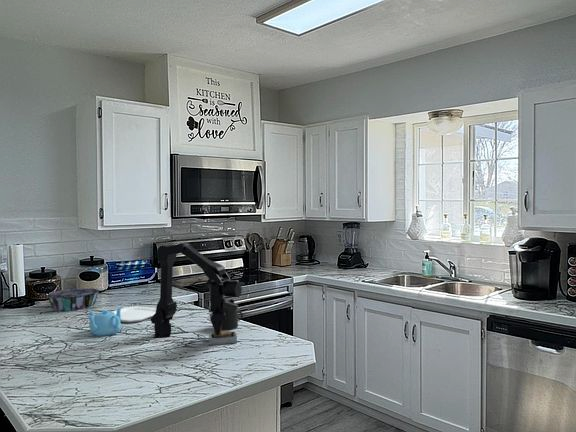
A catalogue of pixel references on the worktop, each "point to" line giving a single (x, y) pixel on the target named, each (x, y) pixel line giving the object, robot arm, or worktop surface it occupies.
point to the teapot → (105, 322)
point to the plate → (135, 313)
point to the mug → (231, 320)
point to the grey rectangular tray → (222, 339)
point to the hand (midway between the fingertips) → (217, 333)
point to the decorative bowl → (73, 299)
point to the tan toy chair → (222, 334)
